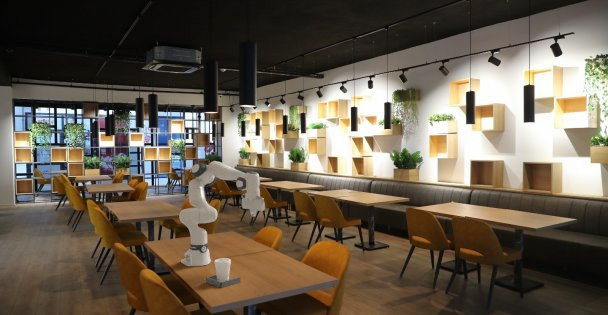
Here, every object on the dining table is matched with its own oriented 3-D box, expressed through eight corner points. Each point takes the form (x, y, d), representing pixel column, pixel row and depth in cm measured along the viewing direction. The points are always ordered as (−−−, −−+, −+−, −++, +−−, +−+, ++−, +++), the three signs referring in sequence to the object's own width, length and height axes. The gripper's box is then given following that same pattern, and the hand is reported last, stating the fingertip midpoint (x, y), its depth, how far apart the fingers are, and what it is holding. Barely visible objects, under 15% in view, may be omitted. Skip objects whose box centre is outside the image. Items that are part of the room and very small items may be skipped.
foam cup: (218, 285, 241) (218, 263, 241) (212, 281, 249) (212, 259, 249) (233, 282, 247) (233, 260, 246) (227, 278, 254) (226, 257, 254)
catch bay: (206, 282, 247) (206, 277, 247) (225, 276, 257) (225, 272, 257) (220, 287, 237) (220, 282, 237) (240, 282, 247) (240, 277, 247)
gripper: (267, 196, 273) (267, 217, 273) (247, 194, 287) (247, 214, 287) (259, 197, 268) (260, 218, 268) (240, 195, 282) (240, 215, 283)
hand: (253, 216), depth 278 cm, fingers closed
